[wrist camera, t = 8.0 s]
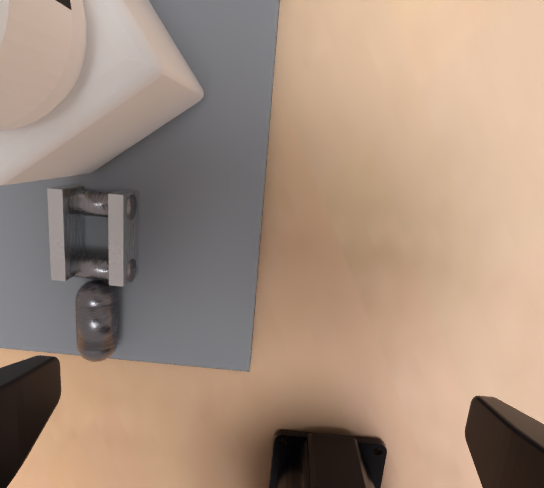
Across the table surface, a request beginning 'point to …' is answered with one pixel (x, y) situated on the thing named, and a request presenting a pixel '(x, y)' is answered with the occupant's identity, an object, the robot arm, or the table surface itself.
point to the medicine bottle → (83, 84)
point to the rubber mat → (167, 209)
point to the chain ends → (94, 259)
